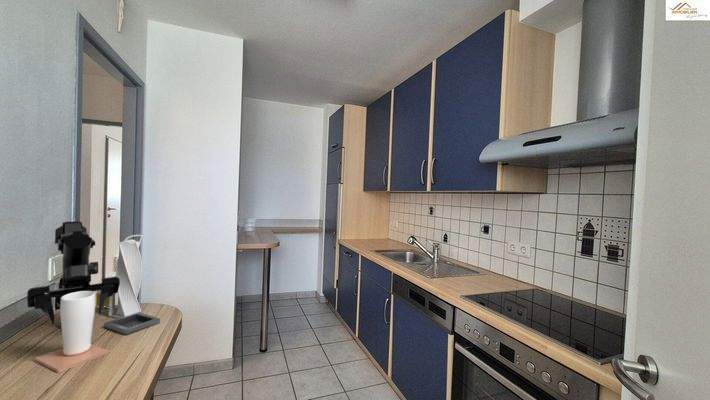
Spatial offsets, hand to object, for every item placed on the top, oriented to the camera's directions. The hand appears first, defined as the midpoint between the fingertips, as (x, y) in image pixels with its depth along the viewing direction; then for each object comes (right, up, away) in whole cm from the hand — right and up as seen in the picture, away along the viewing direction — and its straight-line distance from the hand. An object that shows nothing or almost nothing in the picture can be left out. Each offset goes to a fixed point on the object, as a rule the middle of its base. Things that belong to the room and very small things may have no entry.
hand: (77, 318), depth 80 cm
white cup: (+2, -8, -2) cm, 8 cm away
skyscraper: (-6, -9, +26) cm, 28 cm away
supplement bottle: (-18, -9, +30) cm, 36 cm away
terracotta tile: (+2, -9, -3) cm, 9 cm away
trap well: (+3, -9, +16) cm, 19 cm away
